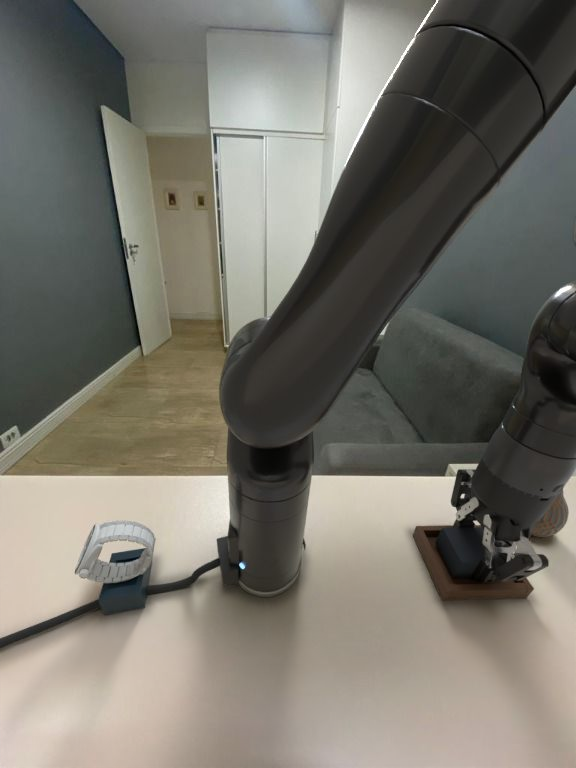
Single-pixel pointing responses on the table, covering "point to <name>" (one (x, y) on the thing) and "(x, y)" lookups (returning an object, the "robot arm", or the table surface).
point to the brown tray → (462, 586)
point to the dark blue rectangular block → (461, 549)
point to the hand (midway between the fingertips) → (468, 557)
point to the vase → (552, 518)
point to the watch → (118, 565)
